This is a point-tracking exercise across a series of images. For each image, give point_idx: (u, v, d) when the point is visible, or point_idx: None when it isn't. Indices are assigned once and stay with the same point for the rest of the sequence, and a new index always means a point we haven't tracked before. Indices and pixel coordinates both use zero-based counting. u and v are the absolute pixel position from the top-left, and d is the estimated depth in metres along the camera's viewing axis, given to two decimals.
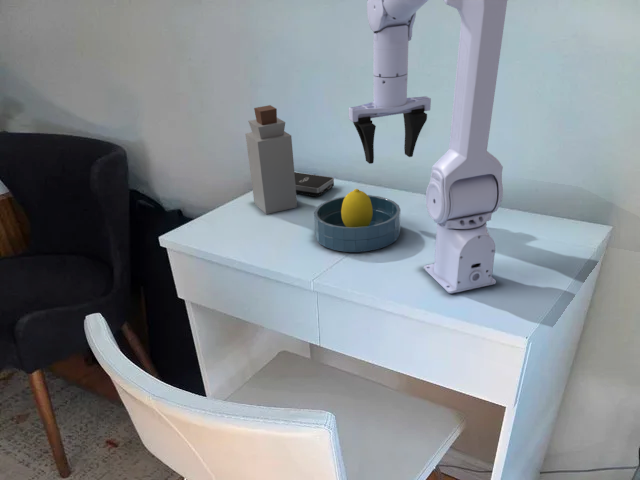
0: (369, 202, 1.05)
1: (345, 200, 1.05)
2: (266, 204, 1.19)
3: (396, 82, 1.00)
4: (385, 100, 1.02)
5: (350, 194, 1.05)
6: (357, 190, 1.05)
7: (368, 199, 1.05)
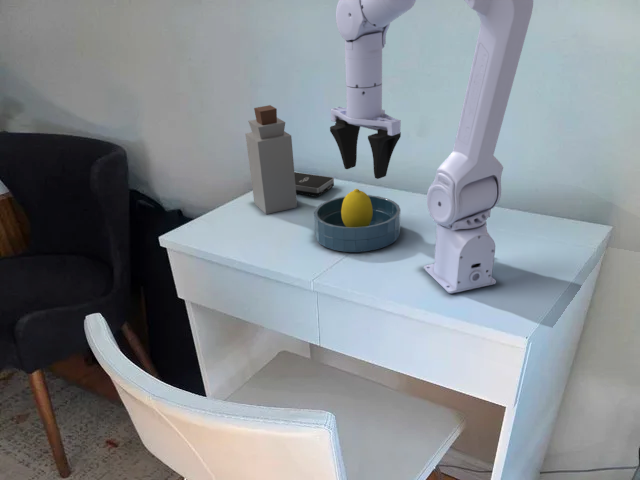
0: (369, 202, 1.05)
1: (345, 200, 1.05)
2: (266, 204, 1.19)
3: (350, 93, 0.96)
4: (346, 108, 0.99)
5: (350, 194, 1.05)
6: (357, 190, 1.05)
7: (368, 199, 1.05)
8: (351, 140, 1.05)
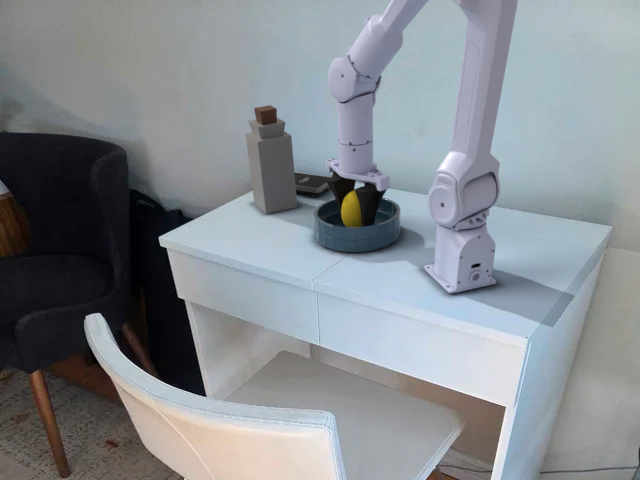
0: None
1: (345, 200, 1.05)
2: (266, 204, 1.19)
3: (342, 149, 0.99)
4: (339, 162, 1.02)
5: (350, 194, 1.05)
6: None
7: None
8: (347, 191, 1.08)
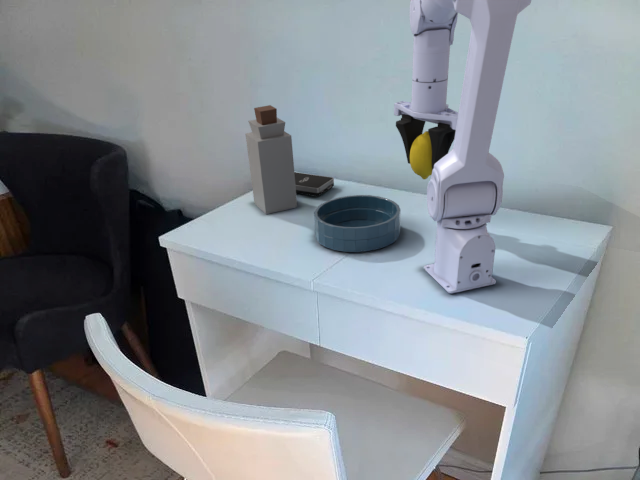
0: None
1: (415, 143, 1.04)
2: (266, 204, 1.19)
3: (416, 87, 0.97)
4: (411, 102, 1.00)
5: (420, 136, 1.03)
6: None
7: None
8: (416, 135, 1.06)
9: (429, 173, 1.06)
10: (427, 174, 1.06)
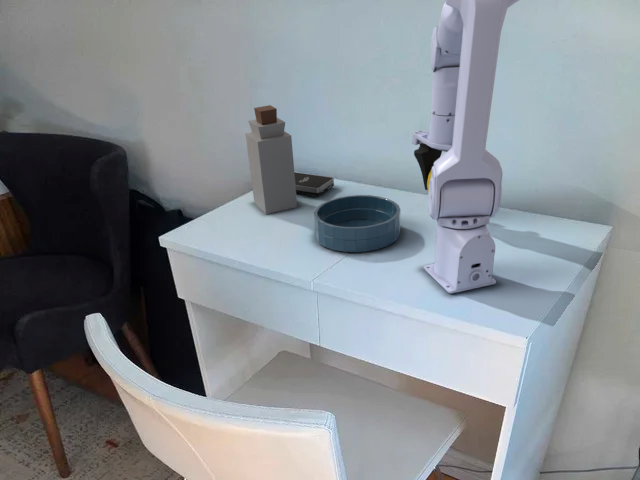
0: None
1: None
2: (266, 204, 1.19)
3: (435, 120, 1.02)
4: (429, 134, 1.05)
5: None
6: None
7: None
8: (433, 163, 1.10)
9: None
10: None
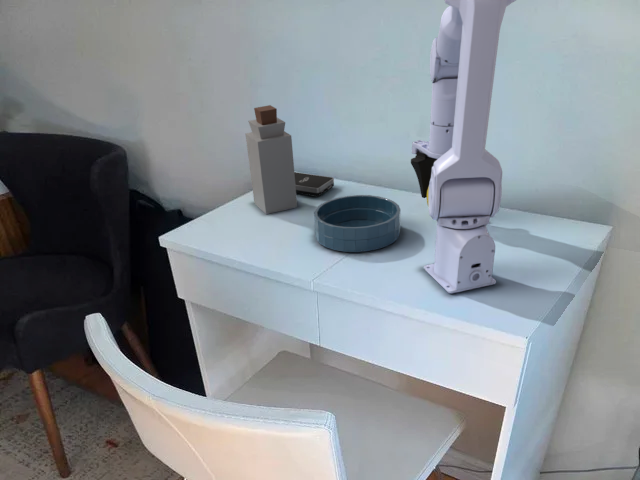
0: None
1: None
2: (266, 204, 1.19)
3: (434, 130, 1.03)
4: (429, 143, 1.06)
5: None
6: None
7: None
8: (429, 171, 1.12)
9: None
10: None
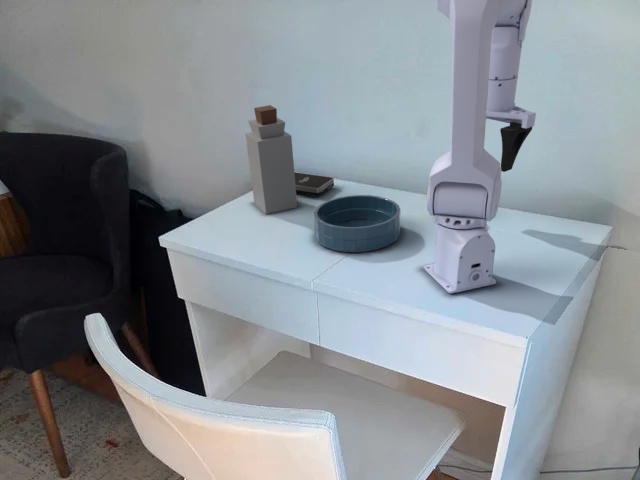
0: None
1: None
2: (266, 204, 1.19)
3: None
4: None
5: None
6: None
7: None
8: None
9: None
10: None
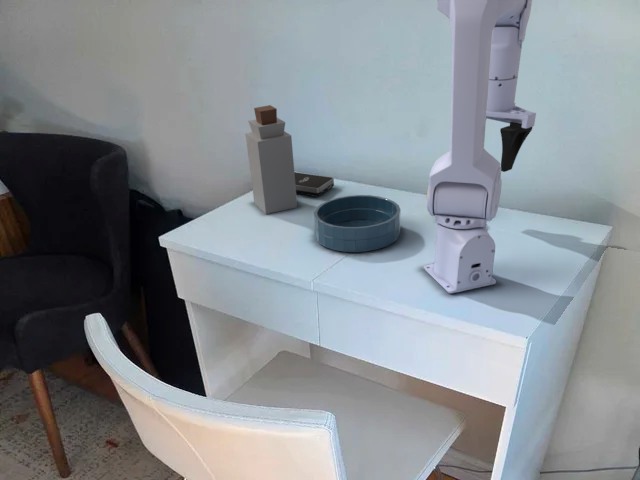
0: None
1: None
2: (266, 204, 1.19)
3: None
4: None
5: None
6: None
7: None
8: None
9: None
10: None
